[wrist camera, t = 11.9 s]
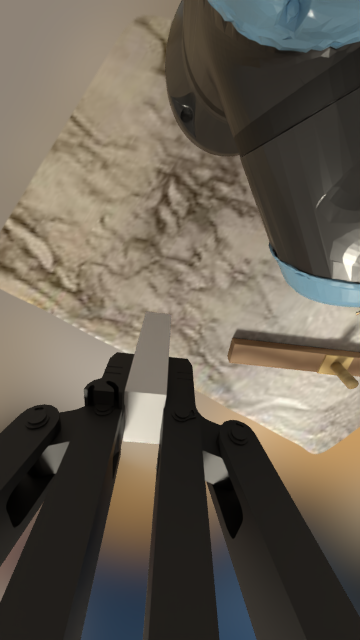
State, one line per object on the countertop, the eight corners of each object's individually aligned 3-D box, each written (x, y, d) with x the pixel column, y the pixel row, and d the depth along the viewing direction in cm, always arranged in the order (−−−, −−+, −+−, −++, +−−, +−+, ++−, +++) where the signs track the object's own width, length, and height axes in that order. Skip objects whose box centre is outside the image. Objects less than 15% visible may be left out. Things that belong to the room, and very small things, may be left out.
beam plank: (232, 337, 44) (241, 362, 38) (388, 355, 46) (422, 381, 40) (227, 356, 46) (235, 382, 39) (377, 372, 48) (408, 400, 41)
